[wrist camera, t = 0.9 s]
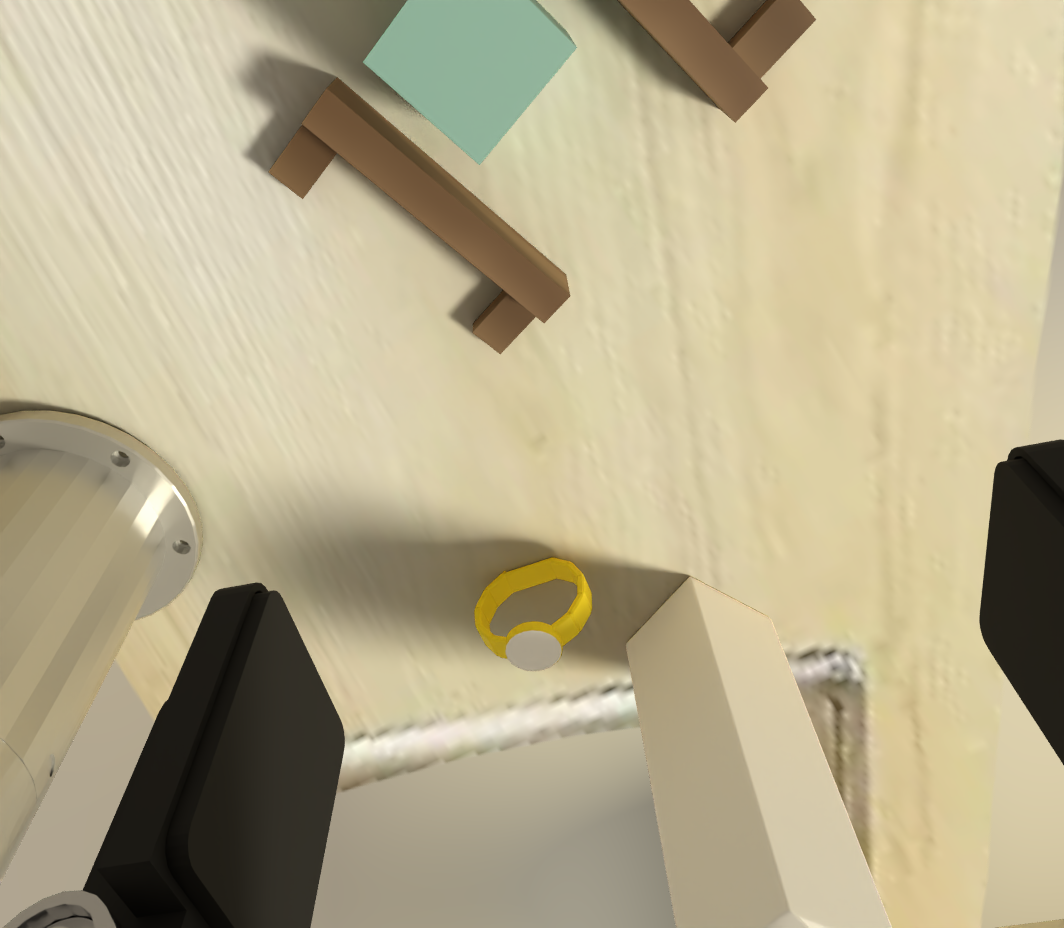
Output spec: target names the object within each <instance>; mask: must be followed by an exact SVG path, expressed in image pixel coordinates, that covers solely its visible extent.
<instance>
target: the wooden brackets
mask: <svg viewBox="0 0 1064 928" xmlns="http://www.w3.org/2000/svg"><path fill="white" fill-rule="evenodd" d="M617 1H618V2H619V3H620V4H621V5H622V6H623V7H624V8H625V9H626V10H627V11H628V12H629V13H630V14H631V15H632V17H633V18H634V19H635V20H636V21H637V22H638V23H639V24H640V25H641V26H642V27H643V28H644V29H645V30H646V31H647V32H648V33H649V35H650V36H651V37H652V38H653V39H654V40H655V41H656V42H657V43H658V44H659V45H660V46H661V47H662V48H663V49H664V50H665V51H666V53H667V54H668V55H669V56H670V57H671V58H672V59H673V60H674V61H675V62H676V63H677V64H678V65H679V66H680V67H681V68H682V69H683V71H684V72H685V73H686V74H687V75H688V76H689V77H690V78H691V79H692V80H693V81H694V82H695V83H696V84H697V85H698V86H699V87H700V89H701V90H702V91H703V92H704V93H705V94H706V95H707V96H708V97H709V98H710V99H711V100H712V101H713V102H714V103H715V104H716V105H717V107H718V108H719V109H720V110H721V111H723V112H724V113H725V114H726V115H727V116H728V117H729V118H731V119H732V120H733V121H734V122H735V123H736V121H737V120H738V119H739V118H740V117H741V116H742V115H743V114H744V113H745V112H746V111H747V110H748V109H749V108H750V107H751V106H752V105H753V104H754V103H755V102H756V101H757V99H758V98H759V97H760V96H761V95H762V94H763V93H764V92H765V91H766V90H767V89H768V87H767V86H766V85H765V84H764V83H763V81H762V80H761V77H762V76H763V75H764V74H765V73H766V72H767V71H768V70H769V69H770V68H771V67H772V66H773V65H774V64H775V63H776V62H777V61H778V59H779V58H780V57H781V56H782V55H783V54H784V53H785V52H786V51H787V50H788V49H789V48H790V47H791V46H792V45H793V44H794V43H795V41H796V40H797V39H798V38H799V37H800V36H801V35H802V34H803V33H804V32H805V31H806V30H807V29H808V28H809V27H810V26H811V24H812V23H813V22H814V21H815V20H816V19H815V18H814V16H813V15H812V14H811V13H810V12H809V10H808V9H807V8H806V7H805V6H804V5H803V3H802V2H801V1H800V0H766V2H765V3H764V4H763V5H762V6H761V7H760V8H759V9H758V10H757V12H756V13H755V14H754V15H753V16H752V17H751V18H750V19H749V20H748V21H747V23H746V24H745V25H744V26H743V27H742V28H741V29H740V30H739V31H738V32H737V34H736V35H735V36H734V37H733V38H732V39H731V40H730V41H729V42H728V43H727V42H726V40H725V39H724V38H723V37H722V36H721V35H720V34H719V33H718V32H717V31H716V29H715V28H714V27H713V26H712V25H711V24H710V23H709V22H708V21H707V19H706V18H705V17H704V16H703V15H702V14H701V13H700V12H699V11H698V9H697V8H696V7H695V6H694V5H693V4H692V3H691V2H690V1H689V0H617ZM301 124H302V126H301V127H300V128H299V130H298V131H297V133H296V134H295V135H294V137H293V138H292V140H291V141H290V142H289V144H288V145H287V147H286V148H285V149H284V151H283V152H282V154H281V155H280V156H279V158H278V159H277V161H276V162H275V163H274V165H273V166H272V168H271V169H270V170H269V173H270V174H271V175H273V176H274V177H275V178H276V179H278V180H279V181H280V182H281V183H283V184H284V185H285V186H287V187H288V188H289V189H290V190H292V191H293V192H294V193H295V194H297V195H298V196H299V197H301V198H302V199H303V198H304V197H305V195H306V194H307V193H308V191H309V190H310V189H311V187H312V186H313V185H314V183H315V182H316V181H317V179H318V178H319V177H320V175H321V174H322V173H323V171H324V170H325V169H326V167H327V166H328V165H329V163H330V162H331V161H332V159H333V158H334V157H335V155H336V154H337V153H338V154H339V155H340V156H341V157H343V158H344V159H345V160H346V161H348V162H349V163H350V164H351V165H352V166H354V167H355V168H356V169H357V170H358V171H360V172H361V173H362V174H363V175H365V176H366V177H367V178H368V179H369V180H371V181H372V182H373V183H374V184H375V185H377V186H378V187H379V188H380V189H382V190H383V191H384V192H385V193H386V194H388V195H389V196H390V197H391V198H392V199H394V200H395V201H396V202H397V203H399V204H400V205H401V206H402V207H403V208H405V209H406V210H407V211H408V212H409V213H411V214H412V215H413V216H414V217H416V218H417V219H418V220H419V221H420V222H422V223H423V224H424V225H425V226H426V227H428V228H429V229H430V230H431V231H433V232H434V233H435V234H436V235H437V236H439V237H440V238H441V239H442V240H443V241H445V242H446V243H447V244H448V245H450V246H451V247H452V248H453V249H454V250H456V251H457V252H458V253H459V254H460V255H462V256H463V257H464V258H465V259H467V260H468V261H469V262H470V263H471V264H473V265H474V266H475V267H476V268H477V269H479V270H480V271H481V272H482V273H484V274H485V275H486V276H487V277H488V278H490V279H491V280H492V281H493V282H494V283H496V284H497V285H498V286H499V287H501V288H502V289H503V291H502V292H501V293H500V294H499V295H498V297H497V298H496V299H495V300H494V301H493V302H492V303H491V304H490V305H489V306H488V308H487V309H486V310H485V311H484V312H483V313H482V314H481V315H480V316H479V317H478V319H477V320H476V321H475V322H474V323H473V333H474V334H475V335H476V336H478V337H479V338H480V339H481V340H483V341H484V342H485V343H487V344H488V345H489V346H490V347H492V348H493V349H494V350H495V351H497V352H498V353H499V354H501V353H502V352H503V351H504V350H505V349H506V348H507V347H508V346H509V345H510V344H511V342H512V341H513V340H514V339H515V338H516V337H517V336H518V335H519V334H520V333H521V332H522V331H523V330H524V329H525V328H526V327H527V326H528V324H529V323H530V322H531V321H532V320H533V319H534V318H535V317H537V318H538V319H539V320H541V321H542V322H543V323H545V322H546V321H547V320H548V319H549V318H550V317H551V316H552V315H553V314H554V313H555V312H556V310H557V309H558V308H559V307H560V306H561V305H562V304H563V303H564V302H565V301H566V300H567V299H568V298H569V297H570V292H569V287H568V282H567V277H566V274H565V273H564V272H562V271H561V270H560V269H559V268H558V267H557V266H555V265H554V264H553V263H552V262H551V261H550V260H549V259H547V258H546V257H545V256H544V255H543V254H542V253H540V252H539V251H538V250H537V249H536V248H535V247H533V246H532V245H531V244H530V243H529V242H528V241H527V240H525V239H524V238H523V237H522V236H521V235H520V234H518V233H517V232H516V231H515V230H514V229H513V228H511V227H510V226H509V225H508V224H507V223H506V222H504V221H503V220H502V219H501V218H500V217H499V216H498V215H496V214H495V213H494V212H493V211H492V210H491V209H489V208H488V207H487V206H486V205H485V204H484V203H482V202H481V201H480V200H479V199H478V198H477V197H476V196H474V195H473V194H472V193H471V192H470V191H469V190H467V189H466V188H465V187H464V186H463V185H462V184H460V183H459V182H458V181H457V180H456V179H455V178H454V177H452V176H451V175H450V174H449V173H448V172H447V171H445V170H444V169H443V168H442V167H441V166H440V165H438V164H437V163H436V162H435V161H434V160H433V159H432V158H430V157H429V156H428V155H427V154H426V153H425V152H423V151H422V150H421V149H420V148H419V147H418V146H416V145H415V144H414V143H413V142H412V141H411V140H409V139H408V138H407V137H406V136H405V135H404V134H403V133H401V132H400V131H399V130H398V129H397V128H396V127H394V126H393V125H392V124H391V123H390V122H389V121H387V120H386V119H385V118H384V117H383V116H382V115H381V114H379V113H378V112H377V111H376V110H375V109H374V108H372V107H371V106H370V105H369V104H368V103H367V102H365V101H364V100H363V99H362V98H361V97H360V96H359V95H357V94H356V93H355V92H354V91H353V90H352V89H350V88H349V87H348V86H347V85H346V84H345V83H343V82H342V81H341V80H340V79H339V78H338V77H337V78H336V79H335V80H334V81H333V82H332V83H331V84H330V85H329V86H328V87H327V88H326V90H325V91H324V93H323V94H322V95H321V97H320V98H319V100H318V101H317V102H316V104H315V105H314V107H313V108H312V109H311V111H310V112H309V114H308V115H307V116H306V118H305V119H304V121H303V122H302V123H301Z"/></svg>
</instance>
